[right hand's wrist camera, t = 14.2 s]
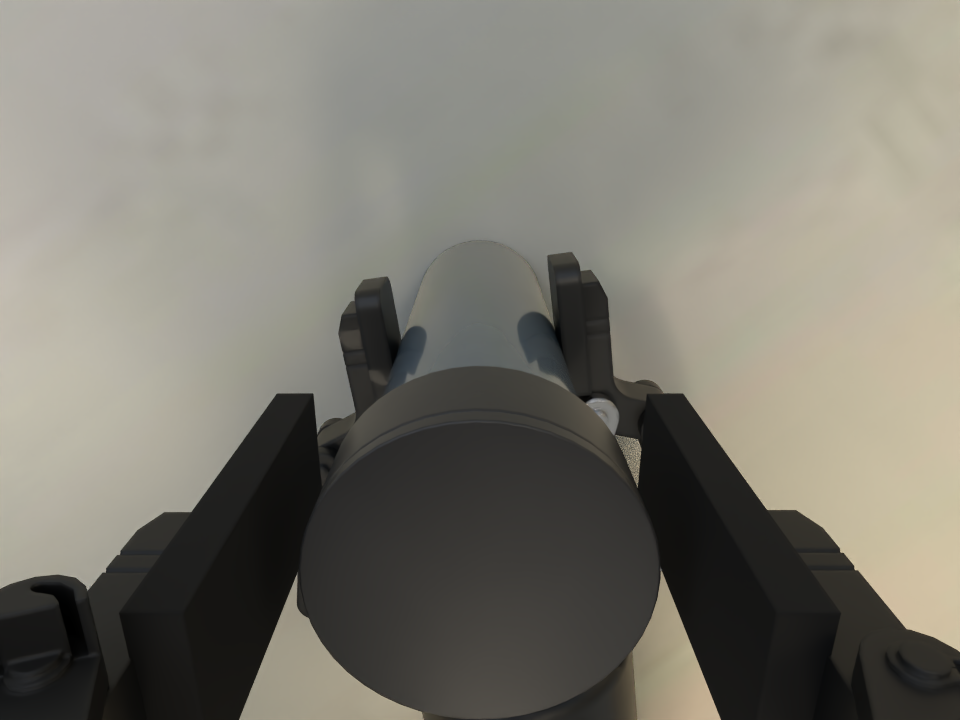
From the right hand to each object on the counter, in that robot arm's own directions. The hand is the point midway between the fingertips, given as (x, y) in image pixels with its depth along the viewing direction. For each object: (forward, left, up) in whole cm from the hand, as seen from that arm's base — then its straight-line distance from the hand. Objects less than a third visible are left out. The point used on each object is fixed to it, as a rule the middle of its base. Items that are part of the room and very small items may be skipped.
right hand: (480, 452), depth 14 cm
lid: (0, 0, +4) cm, 4 cm away
